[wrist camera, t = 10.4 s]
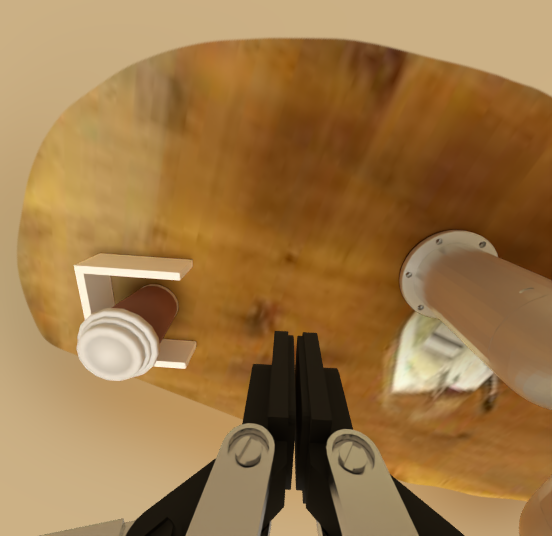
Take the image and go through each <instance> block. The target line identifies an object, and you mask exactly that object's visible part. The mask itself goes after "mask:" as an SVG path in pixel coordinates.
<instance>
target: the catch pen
mask: <svg viewBox="0 0 552 536" xmlns="http://www.w3.org/2000/svg"><path fill="white" fill-rule="evenodd" d="M192 267H193V260H189V259H175V258H160V257H146V256H132V255H118V254H104V253H99V254H97V255H95V256H93V257H90V258H88V259H86V260H84V261H82V262H80V263H78V264H76V265H74V269H75V274H76V279H77V284H78V288H79V293H80V298H81V303H82V308H83V313H84V317H85V320H86V319H87V318H88V317H89V316H90V315H91V314H92V313H94V312H96V311H99V310H102V309H105V308H112V307H113V306H115V302H114V296H113V290H112V283H111V277H110V275H111V276H125V277H139V278H153V279H167V280H181V279H182V278H183V277H184V276H185V274H186V273H187V272H188V271H189V270H190V269H191V268H192ZM195 349H196V341H184V340H171V339H162V341H161V343H160V353H159V356H158V358H157V361H156V363H155V365H154V366H156V367H170V368H183V369H186V367H187V365H188V363H189V361H190V359H191V357H192V355H193V353H194V351H195Z"/></svg>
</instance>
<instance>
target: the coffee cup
mask: <svg viewBox="0 0 552 536" xmlns="http://www.w3.org/2000/svg"><path fill="white" fill-rule="evenodd" d="M178 309H179V307H178V300H177V298H176V296H175V295H174V293H173V292H171V291H170V290H169V289H168V288H166V287H164V286H162V285H159V284H149V285H146V286H143V287H142V288H141V289H139V290H138V291H136V292H135V293H133V294H132V295H130V296H128V297H127V298H125V299H124V300H122V301H121V302H119V303H118V304H116V305H115V306H113V307H112V308H105V309H102V310H99V311H96V312H94V313H92V314H91V315H90V316H89V317H88V318H87V319H86V320H85V321H84V322H83V323H82V324H81V325H80V329H79V333H78V337H77V338H78V344H77V352H78V356H79V359H80V360H81V362H82V364H83V365H84V366H85V368H86V369H87V370H89V371H90V372H92V373H93V374H94V375H96V376H98V377H101V378H104V379H106V380H117V381H122V380H125V379H129V378H132V377H135V376H139V375H142V374H144V373H146V372H147V371H148V370H149V369H150V368H152V367H153V366H154V365H155V363H156V361H157V358H158V356H159V353H160V343H161V341H162V339H163V337H164V336H165V334H166V332H167V330H168V328H169V327H170V325H171V323H172V321H173V319H174V317H175V316H176V314H177V312H178Z"/></svg>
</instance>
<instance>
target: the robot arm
mask: <svg viewBox="0 0 552 536" xmlns="http://www.w3.org/2000/svg"><path fill="white" fill-rule="evenodd" d="M436 240H437V241H436ZM407 272H408V273H407ZM406 273H407V274H406ZM399 284H400V290H401V293H402V295H403V297H404V299H405V300H406V302H407V303H408V304H409V305H410V306H411V307H412V308H413V309H414V310H415V311H416V312H418V313H420V314H422V315H424V316H428V317H432V318H439V319H440V320H441V321H442V322H443V323H444V324H445V325H446V326H447V327H448V328H449V329H450V330H451V331H452V332H453V333H454V334H455V335H456V336H457V337H458V338H459V339H460V340H461V341H462V342H463V343H464V344H465V345H466V346H467V347H468V348H469V349H470V350H471V351H472V352H473V353H474V354H475V355H477V356H478V357H479V358H480V359H481V360H482V361H483V362H484V363H485V364H486V365H487V366H488V367H489V368H490V369H491V370H492V371H493V372H494V373H495V374H496V375H497V376H498V377H499V378H500V379H501V380H502V381H503V382H504V383H505V384H506V385H507V386H508V387H510V388H511V389H512V390H513V391H514V392H516V393H517V394H518V395H520V396H521V397H523V398H524V399H526V400H528V401H530V402H532V403H534V404H536V405H538V406H541V407H544V408H547V409H550V410H552V280H550V279H548V278H546V277H543V276H541V275H539V274H536V273H534V272H532V271H529V270H527V269H524V268H522V267H520V266H517V265H515V264H513V263H510V262H508V261H506V260H503V259H501V258H499V257H498V254H497V252H496V250H495V248H494V246H493V245H492V244H491V243H490V242H489V241H488V240H487V239H485V238H484V237H482V236H480V235H478V234H475V233H473V232H469V231H465V230H449V231H444V232H440V233H437V234H434V235H432V236H430V237H428V238H426V239H425V240H424V241H422V242H421V243H419V244H418V245H417V246H416V247H415V248H414V249H413V250H412V251H411V252H410V254H409V255H408V256H407V258H406V260H405V262H404V263H403V265H402V269H401V272H400V279H399ZM294 441H295V470H296V471H295V474H296V490H302V493H303V503H305V504H306V508H307V510H308V511H309V512H310V513H311V514H312V515H313V517H314V518H315V519H316V522H317V531H318V536H464V535H463V534H462V533H461V532H460V531H458V530H457V529H456V528H455V527H454V526H452V525H451V524H450V523H449V522H448V521H446V520H445V519H444V518H443V517H441V516H440V515H439V514H438V513H437V512H435V511H434V510H433V509H432V508H430V507H429V506H428V505H427V504H426V503H424V502H423V501H422V500H421V499H419V498H418V497H417V496H416V495H415V494H413V493H412V492H411V491H410V490H409V489H407V488H406V487H405V486H403V485H402V484H401V483H400V482H399V481H398V480H396V479H395V478H394V477H393V476H392V475H390V473H389V471H388V469H387V467H386V465H385V463H384V461H383V459H382V457H381V454H380V452H379V450H378V449H377V447H376V446H375V444H374V443H373V442H372V441H371V440H370V439H369V438H368V437H367V436H365V435H364V434H362V433H360V432H358V431H355V430H353V427H352V423H351V419H350V415H349V411H348V407H347V403H346V399H345V395H344V391H343V387H342V383H341V379H340V375H339V372H338V369H337V368H323V364H322V358H321V353H320V347H319V341H318V336H317V333H306V332H303V336H298V337H297V350H296V364H295V365H294V337H293V336H292V335H288V332H286V331H275V334H274V347H273V360H272V365H264V364H253V367H252V372H251V378H250V384H249V389H248V395H247V401H246V406H245V412H244V418H243V423H242V425H239V426H237V427H235V428H234V429H232V430H231V431H230V432H229V433H228V434H227V436H226V437H225V439H224V441H223V443H222V445H221V448H220V451H219V453H218V455H217V458H216V459H214V460H213V461H212V462H210V463H209V464H208V465H206V466H205V467H204V468H202V469H201V470H200V471H198V472H197V473H196V474H194V475H193V476H192V477H191V478H189V479H188V480H186V481H185V482H184V483H182V484H181V485H180V486H178V487H177V488H176V489H174V491H172V492H170V493H169V494H168V495H167V496H165V497H164V498H163V499H161V500H160V501H159V502H157V503H156V504H155V505H153V506H152V507H151V508H149V509H148V510H147V511H145V512H144V513H143V514H142V515H141V516H140V517H139V518H138V519H137V520H135V521H131V522H126V523H124V519H118V520H113V521H109V522H104V523H99V524H94V525H89V526H85V527H79V528H75V529H70V530H65V531H60V532H55V533H50V534H45V535H40V536H269V535H270V529H271V520H272V519H273V518H274V517H275V516H276V515H277V514H278V513H279V512H280V510H281V509H282V508H283V507H284V500H285V499H284V498H285V489H288V490H290V489H291V479H292V467H293V453H294ZM519 535H520V536H552V475H551V476H550V477H549V478H548V479H547V480H546V481H545V482H544V483H543V484H542V486H541V487H540V488H539V489H538V490H537V491H536V492H535V493H534V494H533V496H532V497H531V498H530V499H529V501H528V502H527V503H526V505H525V507H524V509H523V511H522V513H521V516H520V521H519Z"/></svg>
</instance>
